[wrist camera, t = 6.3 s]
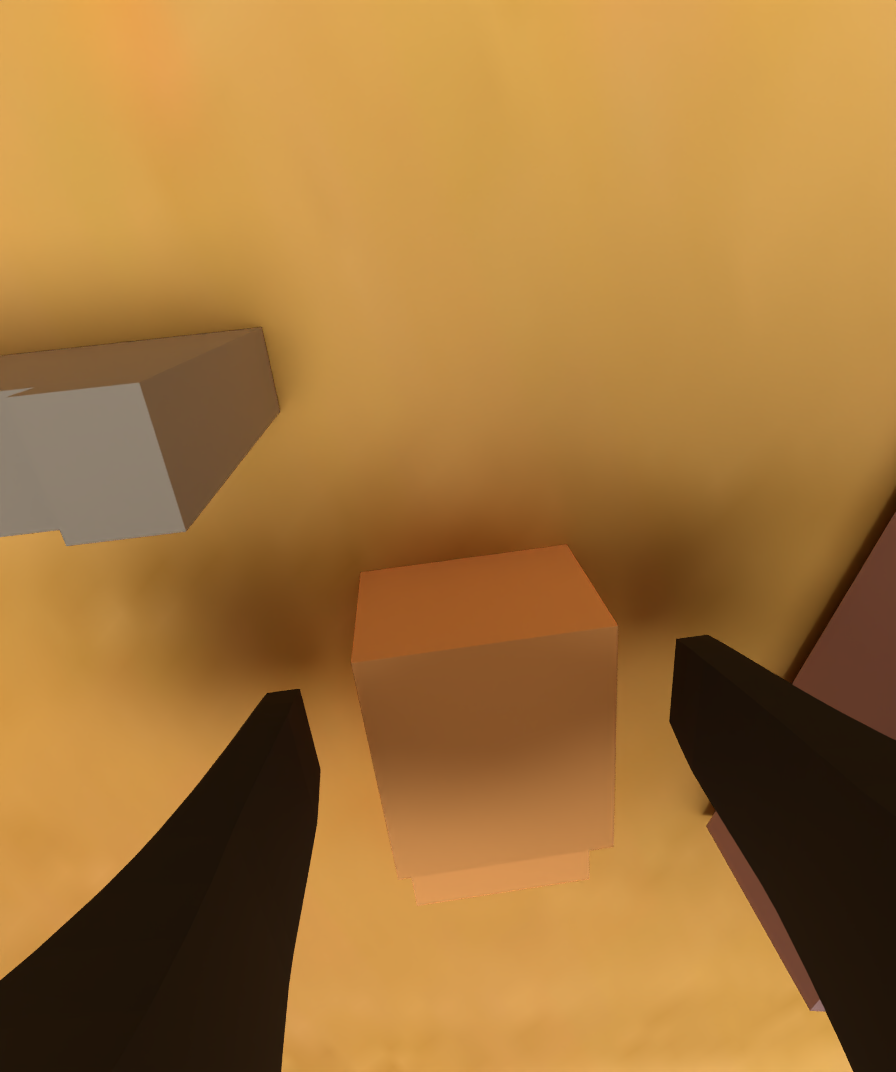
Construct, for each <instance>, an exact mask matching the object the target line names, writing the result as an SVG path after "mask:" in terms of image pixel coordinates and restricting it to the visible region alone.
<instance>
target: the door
mask: <svg viewBox="0 0 896 1072" xmlns="http://www.w3.org/2000/svg"><path fill="white" fill-rule="evenodd" d="M792 685H794V686H796V687H798V688H799V689H801V690H803V691H804V692H806V693H808V694H810V695H811V696H813V697H815V698H817V699H818V700H820V701H822V702H824V703H826V704H827V705H829V706H831V707H833V708H835V709H836V710H838V711H840V712H842V713H844V714H846V715H848V716H850V717H851V718H853V719H855V720H857V721H859V722H861V723H863V724H865V725H867V726H869V727H871V728H873V729H874V730H876V731H878V732H880V733H882V734H884V735H886V736H888V737H890V738H892V739H894V740H896V512H895V514H894V515H893V517H892V518H891V520H890V522H889V523H888V525H887V527H886V528H885V530H884V532H883V533H882V535H881V537H880V538H879V540H878V542H877V543H876V545H875V547H874V548H873V550H872V552H871V553H870V555H869V557H868V558H867V560H866V562H865V563H864V565H863V567H862V568H861V570H860V572H859V573H858V575H857V577H856V578H855V580H854V582H853V583H852V585H851V587H850V588H849V590H848V592H847V593H846V595H845V597H844V598H843V600H842V602H841V603H840V605H839V607H838V608H837V610H836V612H835V613H834V615H833V617H832V618H831V620H830V622H829V623H828V625H827V627H826V628H825V630H824V632H823V633H822V635H821V636H820V638H819V640H818V641H817V643H816V645H815V646H814V648H813V650H812V651H811V653H810V655H809V656H808V658H807V660H806V661H805V663H804V665H803V666H802V668H801V670H800V671H799V673H798V675H797V676H796V678H795V680H794V681H793V683H792ZM707 828H708V830H709V832H710V834H711V835H712V837H713V839H714V841H715V842H716V844H717V846H718V848H719V850H720V851H721V853H722V855H723V857H724V858H725V860H726V862H727V864H728V866H729V867H730V869H731V871H732V873H733V874H734V876H735V878H736V880H737V882H738V883H739V885H740V887H741V889H742V890H743V892H744V894H745V896H746V898H747V899H748V901H749V903H750V905H751V906H752V908H753V910H754V912H755V914H756V915H757V917H758V919H759V921H760V922H761V924H762V926H763V928H764V930H765V931H766V933H767V935H768V937H769V938H770V940H771V942H772V944H773V946H774V947H775V949H776V951H777V953H778V954H779V956H780V958H781V960H782V962H783V963H784V965H785V967H786V969H787V970H788V972H789V974H790V976H791V978H792V979H793V981H794V983H795V985H796V986H797V988H798V990H799V992H800V994H801V995H802V997H803V999H804V1001H805V1002H806V1004H807V1006H808V1008H809V1010H810V1011H825V1009H824V1007H823V1005H822V1003H821V1001H820V999H819V996H818V994H817V992H816V990H815V988H814V986H813V984H812V982H811V980H810V977H809V975H808V973H807V971H806V969H805V967H804V965H803V963H802V961H801V959H800V957H799V955H798V953H797V951H796V949H795V947H794V945H793V943H792V941H791V939H790V937H789V935H788V933H787V931H786V929H785V927H784V925H783V923H782V921H781V919H780V917H779V915H778V913H777V911H776V909H775V908H774V906H773V904H772V902H771V901H770V899H769V897H768V895H767V894H766V892H765V890H764V888H763V886H762V885H761V883H760V881H759V880H758V878H757V876H756V875H755V873H754V872H753V870H752V868H751V867H750V865H749V864H748V862H747V860H746V859H745V857H744V855H743V854H742V852H741V851H740V849H739V847H738V846H737V844H736V842H735V841H734V839H733V838H732V836H731V834H730V833H729V831H728V830H727V828H726V826H725V825H724V823H723V821H722V820H721V818H720V817H719V815H718V813H717V812H716V811H715V813H714V814H713V816H712V818H711V819H710V821H709V823H708V824H707Z"/></svg>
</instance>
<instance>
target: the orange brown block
mask: <svg viewBox="0 0 896 1072" xmlns="http://www.w3.org/2000/svg"><path fill="white" fill-rule="evenodd" d="M617 658H618V625H617V623H616V621H615V620H614V618H613V617H612V615H611V614H610V612H609V610H608V609H607V607H606V606H605V604H604V602H603V601H602V599H601V598H600V596H599V595H598V593H597V591H596V590H595V588H594V587H593V585H592V583H591V582H590V580H589V579H588V577H587V576H586V574H585V572H584V571H583V569H582V568H581V566H580V564H579V563H578V561H577V560H576V558H575V557H574V555H573V553H572V552H571V550H570V549H569V547H568V545H567V544H565V545H558V546H550V547H543V548H536V549H528V550H521V551H513V552H506V553H499V554H491V555H484V556H476V557H469V558H462V559H454V560H447V561H440V562H432V563H425V564H417V565H410V566H403V567H395V568H388V569H380V570H373V571H366V572H361V573H360V583H359V592H358V602H357V611H356V621H355V630H354V640H353V649H352V658H351V665H352V670H353V675H354V679H355V684H356V688H357V693H358V697H359V702H360V707H361V711H362V716H363V720H364V725H365V729H366V734H367V739H368V743H369V748H370V752H371V757H372V762H373V766H374V771H375V775H376V780H377V784H378V789H379V794H380V798H381V803H382V807H383V812H384V817H385V821H386V826H387V830H388V835H389V839H390V844H391V849H392V853H393V858H394V862H395V867H396V871H397V876H398V880H401V879H407V878H412V883H413V888H414V893H415V898H416V903H417V906H419V905H426V904H432V903H439V902H445V901H452V900H458V899H465V898H471V897H477V896H484V895H490V894H497V893H503V892H510V891H516V890H523V889H529V888H536V887H542V886H549V885H555V884H561V883H568V882H574V881H581V880H587V879H589V851H590V850H597V849H603V848H610V847H614V806H615V757H616V708H617Z"/></svg>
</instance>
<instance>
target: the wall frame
mask: <svg viewBox="0 0 896 1072" xmlns="http://www.w3.org/2000/svg"><path fill="white" fill-rule="evenodd" d="M279 412H280V409H279V404H278V399H277V395H276V390H275V386H274V381H273V377H272V372H271V368H270V363H269V358H268V354H267V349H266V345H265V340H264V336H263V331H262V327H259V328H250V329H241V330H232V331H222V332H213V333H204V334H195V335H186V336H176V337H167V338H158V339H149V340H140V341H130V342H121V343H112V344H103V345H94V346H84V347H75V348H66V349H57V350H48V351H39V352H29V353H20V354H11V355H2V356H0V537H5V536H13V535H22V534H30V533H38V532H46V531H55V530H60V532H61V534H62V537H63V539H64V541H65V544H66V546H71V545H80V544H88V543H96V542H104V541H113V540H121V539H129V538H137V537H146V536H154V535H162V534H170V533H178V532H186V531H187V530H188V529H189V527H190V526H191V525H192V523H193V522H194V521H195V520H196V518H197V517H198V516H199V514H200V513H201V512H202V511H203V509H204V508H205V507H206V506H207V504H208V503H209V502H210V500H211V499H212V498H213V497H214V495H215V494H216V493H217V492H218V490H219V489H220V488H221V486H222V485H223V484H224V483H225V481H226V480H227V479H228V477H229V476H230V475H231V474H232V472H233V471H234V470H235V469H236V467H237V466H238V465H239V463H240V462H241V461H242V460H243V458H244V457H245V456H246V454H247V453H248V452H249V451H250V449H251V448H252V447H253V446H254V444H255V443H256V442H257V440H258V439H259V438H260V437H261V435H262V434H263V433H264V431H265V430H266V429H267V428H268V426H269V425H270V424H271V423H272V421H273V420H274V419H275V417H276V416H277V415H278V414H279Z"/></svg>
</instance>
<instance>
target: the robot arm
mask: <svg viewBox="0 0 896 1072" xmlns="http://www.w3.org/2000/svg"><path fill="white" fill-rule="evenodd" d="M669 722H670V724H671V726H672V729H673V731H674V733H675V735H676V738H677V740H678V742H679V745H680V747H681V749H682V751H683V753H684V755H685V758H686V760H687V762H688V764H689V766H690V768H691V770H692V772H693V774H694V775H695V777H696V779H697V780H698V782H699V784H700V785H701V787H702V789H703V790H704V792H705V794H706V795H707V797H708V799H709V800H710V802H711V804H712V805H713V807H714V808H715V810H716V812H717V813H718V815H719V817H720V818H721V820H722V821H723V823H724V825H725V826H726V828H727V830H728V831H729V833H730V834H731V836H732V838H733V839H734V841H735V842H736V844H737V846H738V847H739V849H740V851H741V852H742V854H743V855H744V857H745V859H746V860H747V862H748V864H749V865H750V867H751V868H752V870H753V872H754V873H755V875H756V876H757V878H758V880H759V881H760V883H761V885H762V886H763V888H764V890H765V892H766V894H767V895H768V897H769V899H770V901H771V902H772V904H773V906H774V908H775V909H776V911H777V913H778V915H779V917H780V919H781V921H782V923H783V925H784V927H785V929H786V931H787V933H788V935H789V937H790V939H791V941H792V943H793V945H794V947H795V949H796V951H797V953H798V955H799V957H800V959H801V961H802V963H803V965H804V967H805V969H806V971H807V973H808V975H809V977H810V980H811V982H812V984H813V986H814V988H815V990H816V992H817V994H818V996H819V999H820V1001H821V1003H822V1005H823V1007H824V1009H825V1011H826V1013H827V1015H828V1018H829V1020H830V1022H831V1024H832V1026H833V1028H834V1030H835V1032H836V1034H837V1037H838V1039H839V1041H840V1043H841V1045H842V1047H843V1050H844V1052H845V1054H846V1056H847V1059H848V1061H849V1063H850V1065H851V1068H852V1070H853V1072H896V740H894V739H892V738H890V737H888V736H886V735H884V734H882V733H880V732H878V731H876V730H874V729H873V728H871V727H869V726H867V725H865V724H863V723H861V722H859V721H857V720H855V719H853V718H851V717H850V716H848V715H846V714H844V713H842V712H840V711H838V710H836V709H835V708H833V707H831V706H829V705H827V704H826V703H824V702H822V701H820V700H818V699H817V698H815V697H813V696H811V695H810V694H808V693H806V692H804V691H803V690H801V689H799V688H798V687H796V686H794V685H792V684H791V683H789V682H787V681H786V680H784V679H782V678H780V677H779V676H777V675H775V674H774V673H772V672H770V671H769V670H767V669H765V668H764V667H762V666H760V665H759V664H757V663H755V662H754V661H752V660H750V659H749V658H747V657H745V656H744V655H742V654H740V653H739V652H737V651H735V650H734V649H732V648H730V647H729V646H727V645H725V644H723V643H722V642H720V641H718V640H716V639H714V638H713V637H711V636H709V635H702V636H695V637H687V638H679V639H676V649H675V661H674V672H673V684H672V696H671V708H670V720H669ZM319 786H320V766H319V762H318V758H317V754H316V750H315V746H314V742H313V738H312V735H311V731H310V727H309V723H308V719H307V715H306V711H305V707H304V703H303V699H302V696H301V692H300V689H294V690H287V691H279V692H271V693H267V694H266V695H265V696H264V698H263V699H262V700H261V701H260V703H259V704H258V705H257V707H256V708H255V709H254V711H253V712H252V713H251V715H250V716H249V718H248V719H247V720H246V722H245V723H244V724H243V726H242V727H241V728H240V730H239V731H238V733H237V734H236V735H235V737H234V738H233V739H232V741H231V742H230V743H229V745H228V746H227V747H226V749H225V750H224V751H223V753H222V754H221V755H220V756H219V758H218V759H217V760H216V762H215V763H214V764H213V765H212V767H211V768H210V769H209V771H208V772H207V773H206V774H205V776H204V777H203V778H202V780H201V781H200V782H199V783H198V785H197V786H196V787H195V788H194V790H193V791H192V792H191V793H190V794H189V796H188V797H187V798H186V799H185V800H184V802H183V803H182V804H181V805H180V806H179V807H178V809H177V810H176V811H175V812H174V813H173V814H172V816H171V817H170V818H169V819H168V820H167V821H166V823H165V824H164V825H163V826H162V827H161V829H160V830H159V831H158V832H157V833H156V834H155V835H154V836H153V837H152V839H151V840H150V841H149V842H148V843H147V844H146V845H145V846H144V847H143V848H142V850H141V851H140V852H139V853H138V854H137V855H136V856H135V857H134V858H133V859H132V860H131V861H130V862H129V863H128V864H127V865H126V866H125V867H124V868H123V869H122V870H121V871H120V872H119V873H118V874H117V875H116V876H115V877H114V878H113V879H112V880H111V881H110V882H109V883H108V884H107V885H106V886H105V887H104V888H103V889H102V890H101V891H100V892H99V893H98V894H97V895H96V896H95V897H94V898H93V899H92V900H91V901H89V902H88V903H87V904H86V905H85V906H84V907H83V908H82V909H81V910H80V911H78V912H77V913H76V914H75V915H74V916H73V917H72V918H71V919H70V920H69V921H68V922H66V923H65V924H64V925H63V926H62V927H61V928H60V929H59V930H58V931H57V932H55V933H54V934H53V935H52V936H51V937H50V938H49V939H48V940H47V941H46V942H44V943H43V944H42V945H41V946H40V947H39V948H38V949H37V950H36V951H34V952H33V953H32V954H31V955H30V956H29V957H28V958H26V959H25V960H24V961H23V962H22V963H20V964H19V965H18V966H17V967H16V968H14V969H13V970H12V971H11V972H10V973H9V974H7V975H6V976H5V977H4V978H3V979H1V980H0V1072H281V1066H282V1053H283V1043H284V1032H285V1022H286V1011H287V1000H288V990H289V981H290V974H291V967H292V960H293V953H294V948H295V942H296V937H297V932H298V926H299V921H300V915H301V910H302V904H303V899H304V893H305V888H306V883H307V877H308V872H309V866H310V861H311V855H312V849H313V844H314V838H315V832H316V826H317V817H318V803H319Z"/></svg>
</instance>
